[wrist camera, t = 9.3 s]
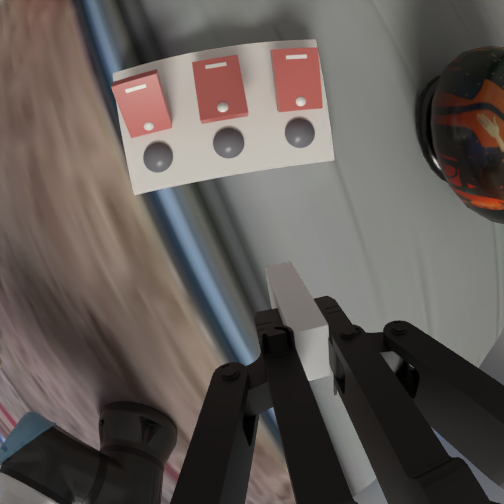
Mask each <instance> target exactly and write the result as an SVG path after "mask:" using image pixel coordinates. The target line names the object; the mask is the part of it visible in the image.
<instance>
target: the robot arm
mask: <svg viewBox="0 0 504 504" xmlns="http://www.w3.org/2000/svg"><path fill="white" fill-rule="evenodd" d="M265 271H266V277H267V283H268V289H269V295H270V301H271V306H272V309H270V310H265V311H260V312H257V314H256V316H255V318H254V320H255V325H256V330H257V335H258V340H259V344H260V349H261V354H260V356H259V358H258V359H257V360H256V361H255V362H253V363H251V364H250V365H247V366H244V365H243V364H240V363H235V362H232V363H226V364H224V365H221V366H220V367H218V368H217V369H216V370H215V372H214V373H213V376H212V379H211V382H210V385H209V388H208V391H207V394H206V397H205V400H204V403H203V406H202V409H201V412H200V415H199V418H198V421H197V424H196V427H195V430H194V433H193V436H192V439H191V442H190V445H189V448H188V451H187V454H186V457H185V460H184V463H183V466H182V469H181V472H180V475H179V478H178V481H177V484H176V487H175V490H174V493H173V496H172V499H171V502H170V504H245V499H246V494H247V488H248V482H249V476H250V470H251V464H252V458H253V452H254V446H255V439H256V433H257V427H258V420H259V413H261V412H263V411H266V410H268V409H270V408H272V407H273V408H274V412H275V416H276V421H277V425H278V429H279V434H280V438H281V442H282V446H283V451H284V455H285V459H286V463H287V468H288V472H289V476H290V480H291V484H292V488H293V493H294V497H295V501H296V504H358V503H357V502H355V501H354V499H353V498H352V495H351V493H350V490H349V487H348V485H347V482H346V479H345V477H344V474H343V471H342V469H341V466H340V463H339V461H338V458H337V455H336V453H335V450H334V447H333V445H332V442H331V439H330V437H329V434H328V431H327V429H326V426H325V423H324V421H323V418H322V416H321V413H320V410H319V408H318V405H317V402H316V400H315V397H314V394H313V392H312V389H311V387H310V384H309V381H311V380H315V379H319V378H322V377H326V376H330V367H331V369H332V371H333V373H334V395H337V390H338V393H339V395H340V397H341V399H342V401H343V403H344V406H345V408H346V410H347V412H348V414H349V417H350V419H351V421H352V423H353V425H354V428H355V430H356V432H357V434H358V437H359V439H360V441H361V443H362V445H363V448H364V450H365V452H366V454H367V457H368V459H369V461H370V463H371V466H372V468H373V470H374V472H375V475H376V477H377V479H378V482H379V484H380V486H381V488H382V491H383V493H384V495H385V498H386V500H387V502H388V504H500V503H496V502H492V501H490V500H489V499H488V497H487V496H486V494H485V492H484V491H483V489H482V487H481V486H480V484H479V482H478V481H477V479H476V478H475V476H474V474H473V473H472V471H471V470H470V468H469V467H468V465H467V464H466V463H465V461H464V460H463V459H461V458H459V457H456V458H452V457H450V456H449V455H448V453H447V452H446V450H445V449H444V447H443V446H442V444H441V442H440V441H439V439H438V438H437V436H436V435H435V433H434V432H433V430H432V429H431V427H432V428H433V429H434V430H435V431H436V432H438V433H439V434H440V435H441V436H442V437H443V438H444V439H445V440H446V441H448V442H449V443H450V444H451V445H452V446H453V447H454V448H456V449H457V450H458V451H459V452H460V453H461V454H462V455H463V456H465V457H466V458H467V459H468V460H469V461H470V462H471V463H472V464H474V465H475V466H476V467H477V468H478V469H479V470H480V471H481V472H483V473H484V474H485V475H486V476H487V477H488V478H489V479H490V480H492V481H493V482H495V483H496V484H497V485H499V486H500V487H501V488H503V489H504V386H503V385H502V384H501V383H499V382H498V381H496V380H495V379H493V378H492V377H490V376H489V375H487V374H486V373H484V372H483V371H482V370H480V369H479V368H477V367H476V366H474V365H473V364H471V363H470V362H468V361H467V360H465V359H464V358H462V357H461V356H459V355H458V354H456V353H455V352H453V351H452V350H450V349H449V348H447V347H446V346H444V345H443V344H441V343H440V342H438V341H437V340H435V339H433V338H432V337H430V336H429V335H427V334H426V333H424V332H423V331H421V330H420V329H418V328H417V327H415V326H413V325H412V324H410V323H408V322H406V321H400V320H399V321H392V322H389V323H388V324H387V325H385V327H384V329H383V332H378V333H366V332H365V331H364V330H363V329H362V328H361V327H359V326H357V325H352V323H351V322H350V320H349V319H348V317H347V316H346V315H345V313H344V312H343V311H342V309H341V308H340V306H339V305H338V303H337V302H336V300H335V299H333V298H331V297H329V296H324V297H320V298H315V299H313V298H312V296H311V294H310V293H309V291H308V289H307V288H306V286H305V284H304V283H303V281H302V279H301V278H300V276H299V274H298V273H297V271H296V269H295V268H294V266H293V264H292V263H291V262H287V263H283V264H278V265H273V266H268V267H265ZM409 364H410V365H411V366H413V367H414V368H413V367H411V366H410V365H409ZM430 426H431V427H430ZM99 436H100V451H98V450H96V449H94V448H93V447H91V446H89V445H87V444H86V443H84V442H82V441H81V440H79V439H77V438H76V437H74V436H73V435H71V434H70V433H68V432H66V431H65V430H63V429H62V428H60V427H59V426H57V425H56V423H54V422H51V421H49V420H48V419H46V418H45V417H43V416H41V415H40V414H38V413H36V412H27V413H26V414H25V415H24V416H23V417H22V418H21V420H20V421H19V422H18V424H17V425H16V426H15V428H14V429H13V430H12V432H11V433H10V435H9V436H8V437H7V439H6V440H5V442H4V443H3V445H2V446H1V448H0V465H2V466H1V469H0V481H1V483H2V486H3V492H2V495H1V498H0V504H161V494H162V482H163V472H164V465H165V464H166V462H167V460H168V458H169V456H170V455H171V453H172V451H173V449H174V447H175V445H176V442H177V429H176V427H175V425H174V423H173V422H172V421H171V420H170V419H169V418H168V417H166V416H165V415H164V414H162V413H160V412H159V411H157V410H155V409H153V408H150V407H147V406H144V405H141V404H137V403H131V402H117V403H112V404H110V405H108V406H106V407H105V408H104V409H103V410H102V412H101V415H100V418H99Z"/></svg>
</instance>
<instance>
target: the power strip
mask: <svg viewBox="0 0 504 504" xmlns="http://www.w3.org/2000/svg"><path fill="white" fill-rule="evenodd" d="M311 47H317V43H316V39H310V40H286V41H272V42H260V43H251V44H242V45H235V46H227V47H221V48H215V49H209V50H203V51H198V52H193V53H188V54H183V55H178V56H174V57H170V58H165V59H161V60H157V61H154V62H150V63H146V64H142V65H139V66H135V67H132V68H129V69H125V70H122V71H119V72H116V73H113V81H117V80H121V79H124V78H127V77H130V76H134V75H137V74H141V73H144V72H148V71H152V70H156V69H158V72H159V76H160V79H161V83H162V87H163V90H164V94H165V97H166V101H167V104H168V108H169V111H170V115H171V118H172V122H173V123H172V128H170V129H166V130H162V131H158V132H154V133H150V134H146V135H142V136H138V137H134V138H131V137H130V134H129V132H128V129H127V127H126V124H125V122H124V119H123V117H122V114H121V112H120V109H119V107H118V104H117V109H118V115H119V121H120V127H121V133H122V138H123V144H124V149H125V154H126V159H127V164H128V169H129V174H130V178H131V183H132V187H133V192H134V195H137V194H141V193H146V192H150V191H155V190H159V189H164V188H168V187H173V186H178V185H183V184H188V183H193V182H198V181H203V180H208V179H213V178H219V177H224V176H230V175H236V174H242V173H248V172H254V171H260V170H267V169H274V168H280V167H287V166H295V165H302V164H310V163H318V162H327V161H334V152H333V143H332V135H331V127H330V120H329V113H328V106H327V100H326V93H325V87H324V81H323V75H322V70H321V64H320V59H319V66H320V77H321V90H322V105H323V108H321V109H308V110H297V111H287V112H279V111H278V110H277V104H276V95H275V87H274V78H273V70H272V62H271V54H270V50H275V49H289V48H311ZM231 55H238V60H239V65H240V70H241V75H242V80H243V86H244V91H245V96H246V101H247V107H248V112H249V113H248V116H246V117H240V118H233V119H227V120H221V121H216V122H210V123H205V124H202V123H201V121H200V115H199V108H198V102H197V95H196V88H195V81H194V74H193V66H192V62H196V61H201V60H207V59H212V58H218V57H225V56H231ZM318 55H319V53H318ZM116 103H117V101H116Z"/></svg>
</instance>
